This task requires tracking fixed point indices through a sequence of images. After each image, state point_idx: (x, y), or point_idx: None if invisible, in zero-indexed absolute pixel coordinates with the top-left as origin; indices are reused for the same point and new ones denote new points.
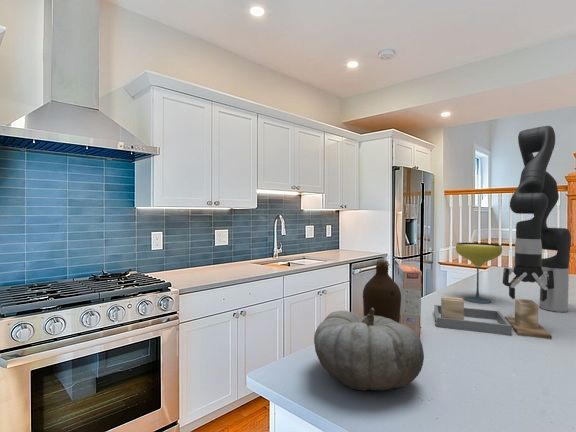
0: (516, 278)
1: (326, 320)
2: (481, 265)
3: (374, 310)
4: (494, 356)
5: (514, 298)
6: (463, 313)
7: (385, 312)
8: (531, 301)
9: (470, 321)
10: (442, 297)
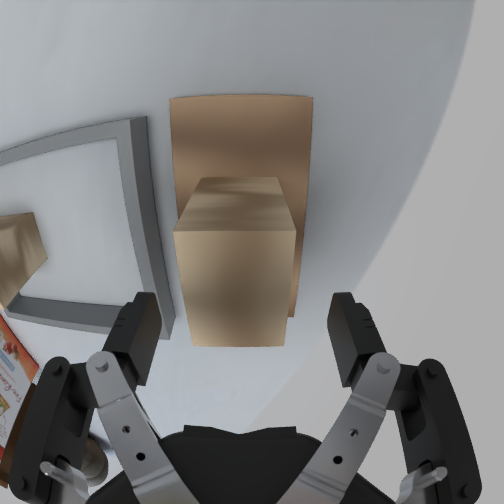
0: (129, 428)
1: None
2: None
3: None
4: (148, 407)
5: (159, 325)
6: (27, 280)
7: None
8: (275, 280)
9: (64, 327)
10: None
